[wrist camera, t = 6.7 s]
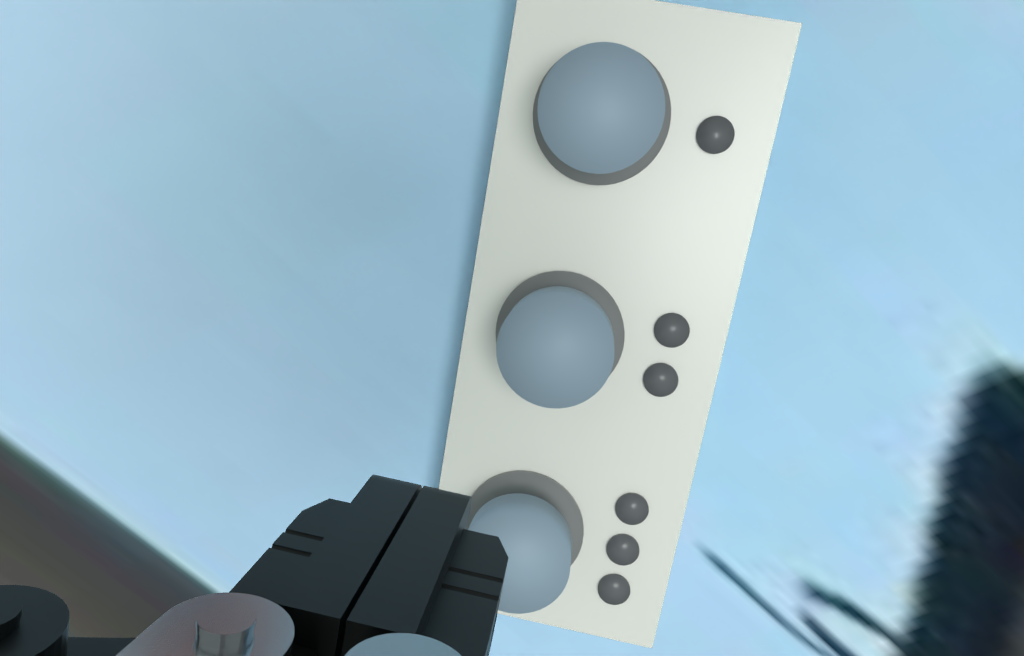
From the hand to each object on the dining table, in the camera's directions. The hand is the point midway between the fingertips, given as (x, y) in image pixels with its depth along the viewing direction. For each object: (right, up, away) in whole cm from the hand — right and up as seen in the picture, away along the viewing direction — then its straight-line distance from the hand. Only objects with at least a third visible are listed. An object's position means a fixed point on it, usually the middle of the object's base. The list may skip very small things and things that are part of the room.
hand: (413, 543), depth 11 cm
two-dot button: (+4, +3, +23) cm, 23 cm away
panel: (+6, +3, +27) cm, 28 cm away
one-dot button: (+5, +12, +20) cm, 24 cm away
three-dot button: (+2, -7, +25) cm, 26 cm away
